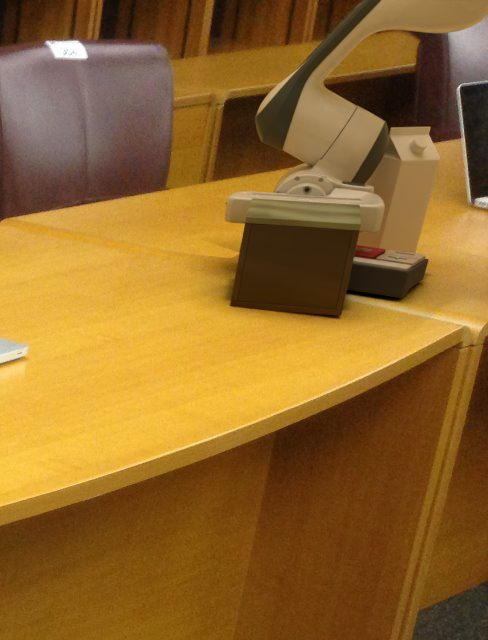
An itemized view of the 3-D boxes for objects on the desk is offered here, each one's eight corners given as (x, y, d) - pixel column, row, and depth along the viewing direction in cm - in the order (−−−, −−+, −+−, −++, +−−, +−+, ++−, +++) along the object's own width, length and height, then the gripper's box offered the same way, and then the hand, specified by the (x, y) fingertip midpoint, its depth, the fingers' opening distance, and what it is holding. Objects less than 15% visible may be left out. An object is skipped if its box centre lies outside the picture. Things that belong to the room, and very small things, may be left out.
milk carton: (340, 254, 234) (373, 124, 225) (378, 252, 236) (412, 123, 227) (374, 265, 228) (409, 131, 219) (413, 262, 230) (449, 130, 221)
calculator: (431, 253, 216) (410, 266, 205) (422, 284, 218) (401, 298, 207) (348, 241, 222) (324, 253, 211) (341, 271, 224) (316, 284, 213)
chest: (235, 286, 214) (249, 207, 210) (341, 295, 209) (358, 214, 205) (229, 306, 203) (244, 223, 198) (341, 316, 198) (359, 230, 193)
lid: (250, 204, 212) (252, 198, 211) (358, 210, 207) (359, 204, 206) (245, 222, 198) (246, 216, 198) (359, 230, 193) (361, 224, 193)
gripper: (230, 177, 222) (225, 191, 211) (386, 186, 214) (388, 200, 203) (222, 222, 225) (216, 238, 213) (375, 232, 217) (378, 249, 206)
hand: (302, 220), depth 208 cm, fingers closed
